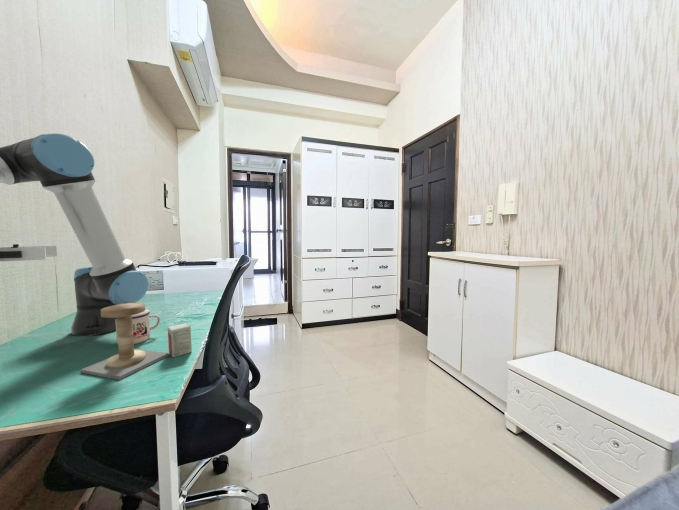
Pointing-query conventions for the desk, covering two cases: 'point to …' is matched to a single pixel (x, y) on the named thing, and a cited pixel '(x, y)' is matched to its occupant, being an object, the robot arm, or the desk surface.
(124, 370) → the mat
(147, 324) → the teacup with lid
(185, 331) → the small box
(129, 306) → the stool
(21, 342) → the desk surface
